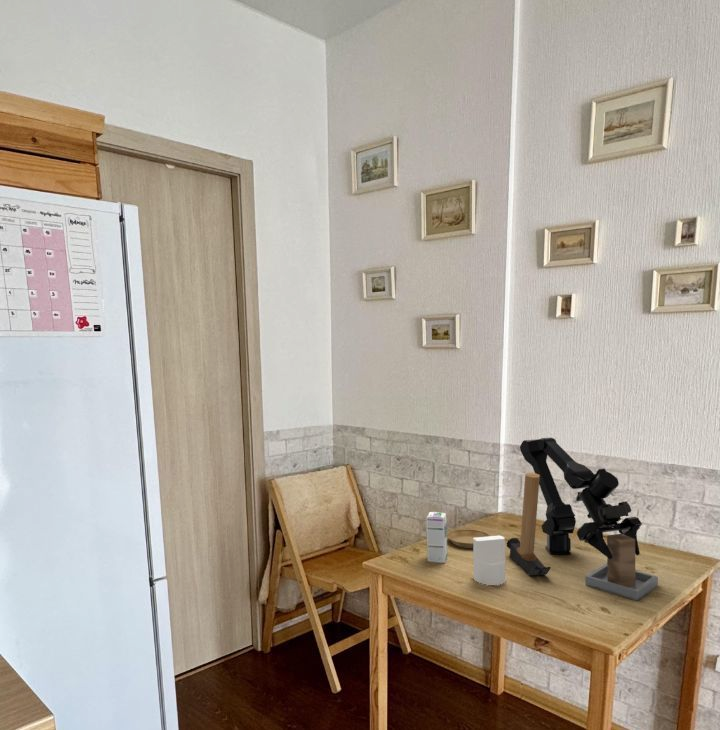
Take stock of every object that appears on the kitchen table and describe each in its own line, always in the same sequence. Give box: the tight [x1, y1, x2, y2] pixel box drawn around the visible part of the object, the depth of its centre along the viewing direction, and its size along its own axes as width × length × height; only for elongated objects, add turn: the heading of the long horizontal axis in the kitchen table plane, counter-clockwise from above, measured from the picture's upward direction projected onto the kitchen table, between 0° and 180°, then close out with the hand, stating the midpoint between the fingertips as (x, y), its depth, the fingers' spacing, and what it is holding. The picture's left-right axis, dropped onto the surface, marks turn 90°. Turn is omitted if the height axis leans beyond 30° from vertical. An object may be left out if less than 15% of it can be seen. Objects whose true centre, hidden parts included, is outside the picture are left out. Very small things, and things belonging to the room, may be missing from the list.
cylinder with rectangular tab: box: [472, 535, 506, 586], centre depth 158 cm, size 9×9×12 cm
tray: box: [584, 562, 659, 602], centre depth 152 cm, size 14×14×2 cm
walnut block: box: [606, 533, 636, 587], centre depth 152 cm, size 5×5×13 cm
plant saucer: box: [447, 528, 491, 549], centre depth 189 cm, size 15×15×3 cm
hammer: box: [506, 472, 552, 576], centre depth 164 cm, size 20×5×30 cm, turn 7°
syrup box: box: [425, 511, 448, 564], centre depth 173 cm, size 6×6×14 cm
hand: (625, 556), depth 151 cm, fingers open, 9 cm apart
